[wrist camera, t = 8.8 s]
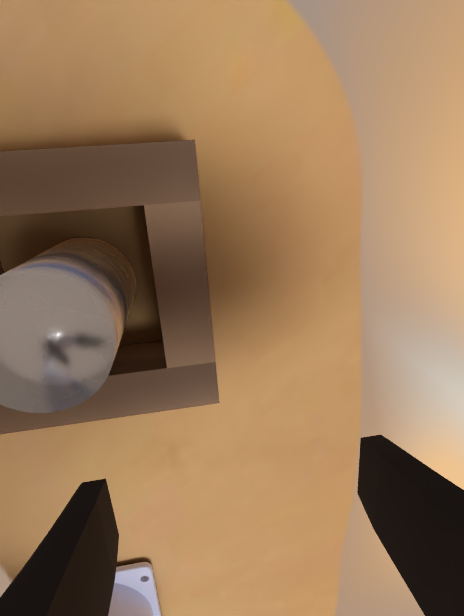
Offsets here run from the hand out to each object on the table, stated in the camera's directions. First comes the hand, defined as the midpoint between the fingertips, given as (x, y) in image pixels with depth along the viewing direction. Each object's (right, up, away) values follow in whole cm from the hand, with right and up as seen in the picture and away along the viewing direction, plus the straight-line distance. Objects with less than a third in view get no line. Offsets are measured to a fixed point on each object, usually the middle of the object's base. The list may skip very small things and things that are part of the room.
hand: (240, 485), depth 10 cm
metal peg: (-7, +6, +7) cm, 12 cm away
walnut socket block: (-7, +6, +7) cm, 12 cm away
